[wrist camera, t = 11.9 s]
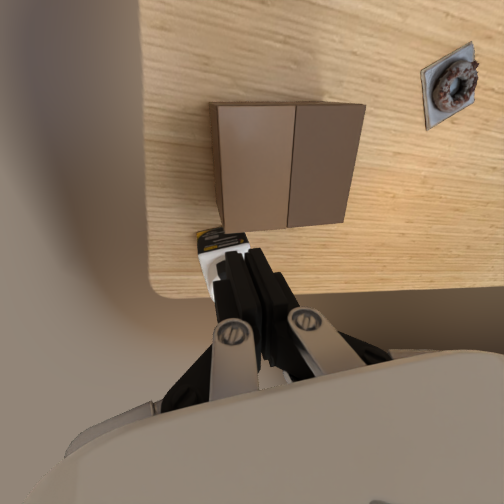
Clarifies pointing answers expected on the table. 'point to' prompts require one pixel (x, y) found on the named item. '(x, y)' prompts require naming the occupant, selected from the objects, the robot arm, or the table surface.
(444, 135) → the table surface
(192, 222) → the table surface
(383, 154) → the table surface
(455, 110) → the donut
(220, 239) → the medicine bottle
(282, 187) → the front flap
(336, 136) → the carton
